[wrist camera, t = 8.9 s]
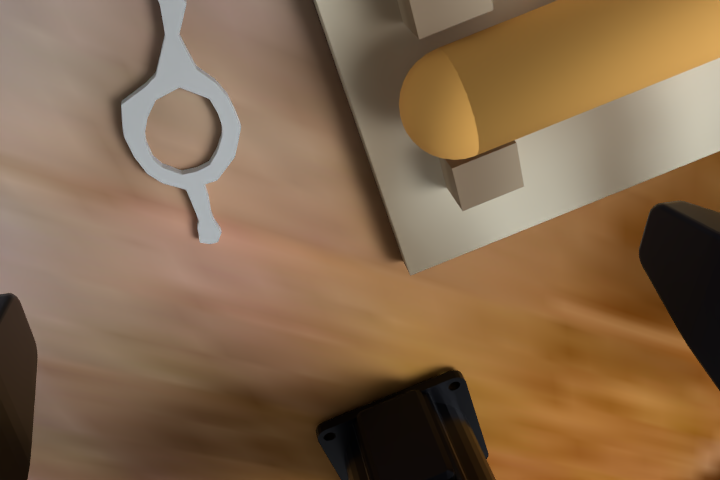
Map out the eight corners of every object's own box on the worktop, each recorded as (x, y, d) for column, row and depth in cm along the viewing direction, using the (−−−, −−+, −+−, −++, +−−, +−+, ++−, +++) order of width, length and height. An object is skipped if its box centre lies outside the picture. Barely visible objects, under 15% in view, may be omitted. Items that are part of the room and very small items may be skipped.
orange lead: (883, -150, 18) (993, -138, 16) (863, -40, 20) (959, -15, 17) (373, 53, 18) (405, 97, 15) (400, 145, 20) (434, 196, 17)
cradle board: (935, -402, 16) (1032, -423, 14) (844, 84, 23) (899, 109, 22) (265, -138, 15) (278, -126, 14) (403, 261, 23) (423, 301, 22)
